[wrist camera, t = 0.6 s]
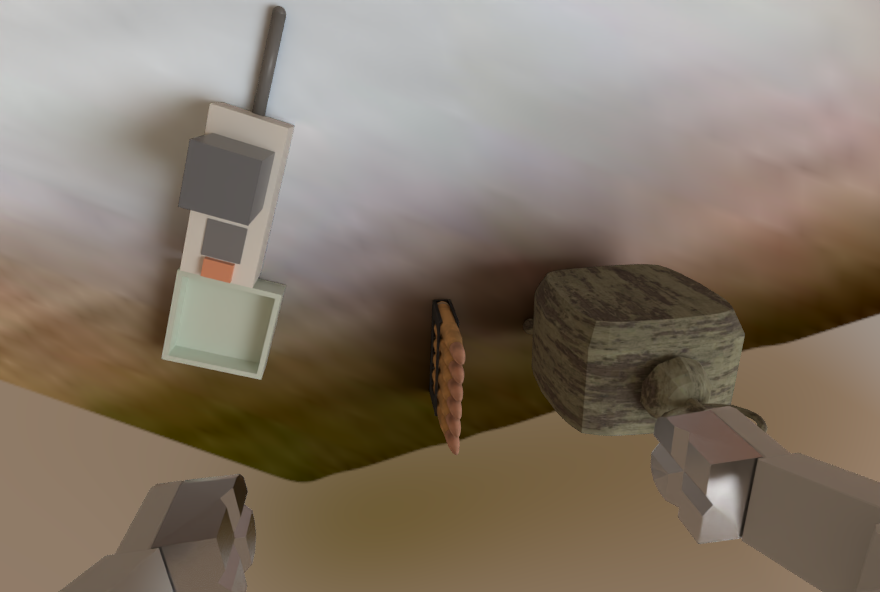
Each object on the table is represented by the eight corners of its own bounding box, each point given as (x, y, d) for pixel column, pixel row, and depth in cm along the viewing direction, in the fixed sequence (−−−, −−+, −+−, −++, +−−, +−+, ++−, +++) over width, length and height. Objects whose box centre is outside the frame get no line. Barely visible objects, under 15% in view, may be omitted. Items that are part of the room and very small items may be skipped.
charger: (221, 130, 44) (188, 138, 36) (280, 148, 45) (262, 161, 37) (210, 185, 45) (177, 206, 37) (268, 202, 46) (248, 225, 38)
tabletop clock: (510, 339, 56) (614, 513, 33) (511, 257, 53) (629, 386, 29) (639, 328, 58) (825, 485, 34) (648, 248, 54) (861, 363, 31)
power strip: (243, -7, 41) (229, -19, 37) (319, 21, 43) (314, 13, 39) (193, 256, 48) (177, 272, 44) (260, 273, 50) (250, 290, 45)
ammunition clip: (432, 299, 53) (451, 353, 42) (450, 299, 53) (474, 353, 42) (429, 391, 57) (445, 463, 46) (446, 391, 57) (466, 462, 46)
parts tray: (187, 260, 48) (177, 269, 46) (285, 285, 50) (282, 295, 48) (171, 345, 51) (161, 358, 48) (265, 366, 53) (261, 379, 51)
